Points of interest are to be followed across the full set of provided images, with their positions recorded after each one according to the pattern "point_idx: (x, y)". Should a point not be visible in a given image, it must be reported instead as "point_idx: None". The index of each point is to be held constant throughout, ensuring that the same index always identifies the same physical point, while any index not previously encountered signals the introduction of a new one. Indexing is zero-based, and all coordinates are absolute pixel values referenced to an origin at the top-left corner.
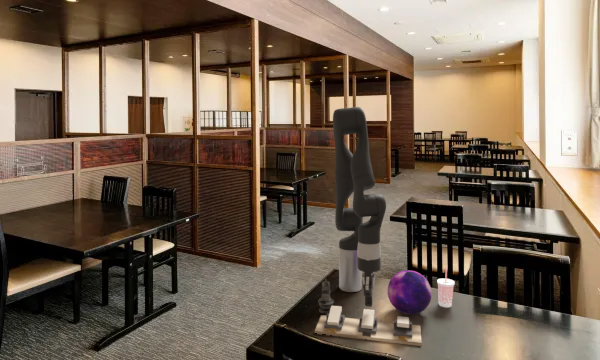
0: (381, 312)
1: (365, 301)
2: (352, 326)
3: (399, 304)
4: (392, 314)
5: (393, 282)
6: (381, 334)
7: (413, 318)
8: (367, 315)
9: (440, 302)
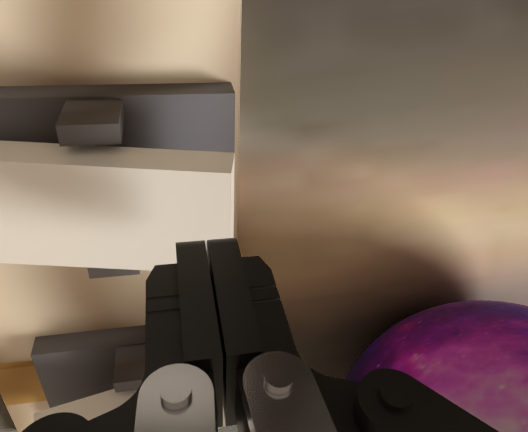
0: (421, 207)
1: (180, 284)
2: (44, 8)
3: None
4: (390, 271)
5: None
6: (14, 272)
7: (342, 365)
8: (118, 213)
9: None
